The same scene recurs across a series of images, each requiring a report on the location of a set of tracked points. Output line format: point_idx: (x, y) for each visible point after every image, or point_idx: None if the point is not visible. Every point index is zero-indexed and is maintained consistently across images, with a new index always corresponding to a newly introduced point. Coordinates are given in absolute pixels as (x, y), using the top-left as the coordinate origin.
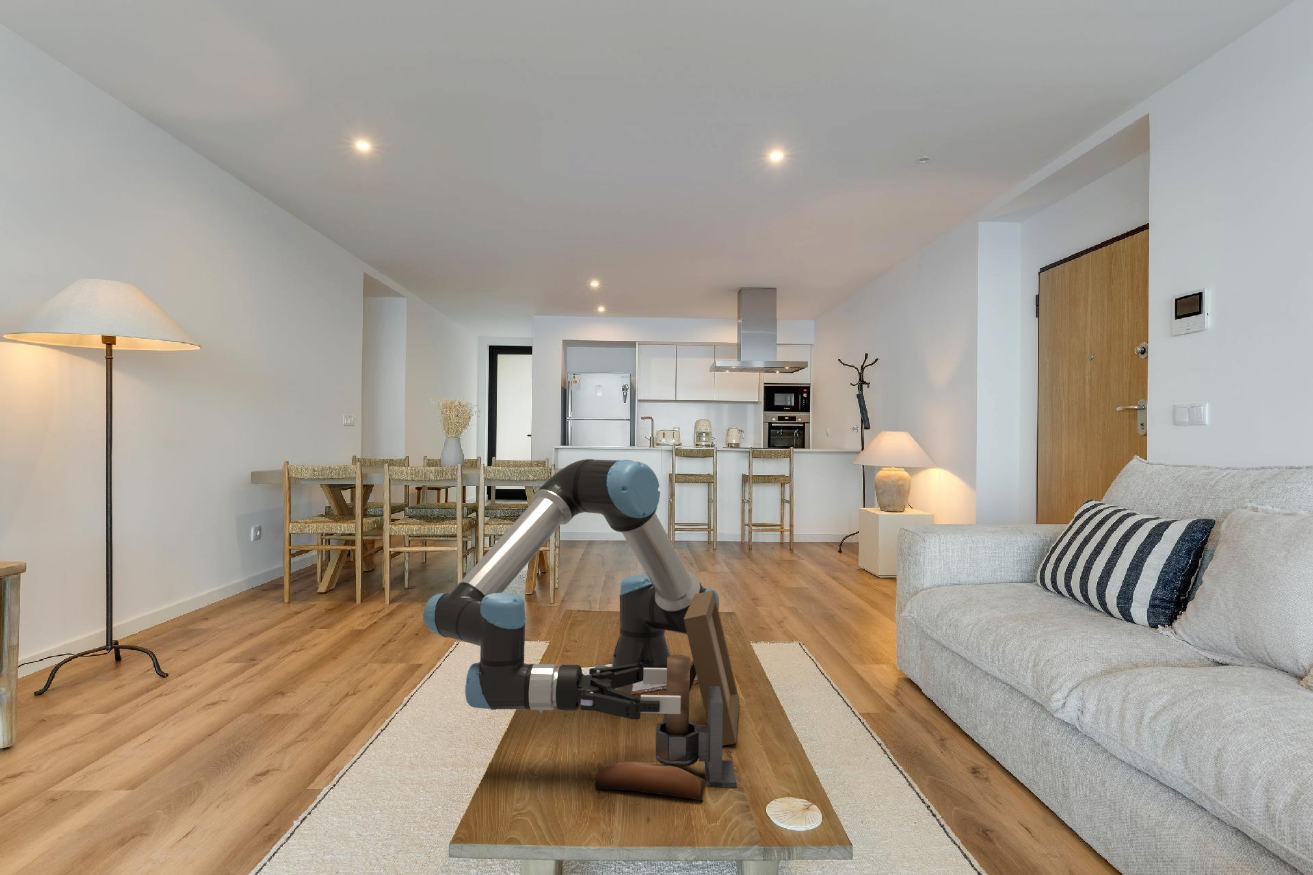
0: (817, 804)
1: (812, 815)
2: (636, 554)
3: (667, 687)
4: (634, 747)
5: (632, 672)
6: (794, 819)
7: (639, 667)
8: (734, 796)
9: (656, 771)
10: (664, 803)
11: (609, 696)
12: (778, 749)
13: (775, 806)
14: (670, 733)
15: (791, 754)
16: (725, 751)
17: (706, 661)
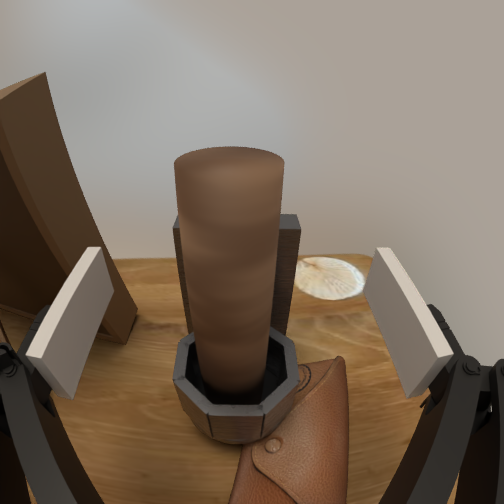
0: (302, 257)
1: (328, 263)
2: None
3: (247, 295)
4: (104, 487)
5: (43, 420)
6: (342, 277)
7: (11, 372)
8: (305, 330)
9: (331, 432)
10: (355, 427)
11: (500, 482)
12: (154, 270)
13: (319, 290)
14: (259, 381)
15: (171, 260)
16: (147, 330)
17: (66, 202)
